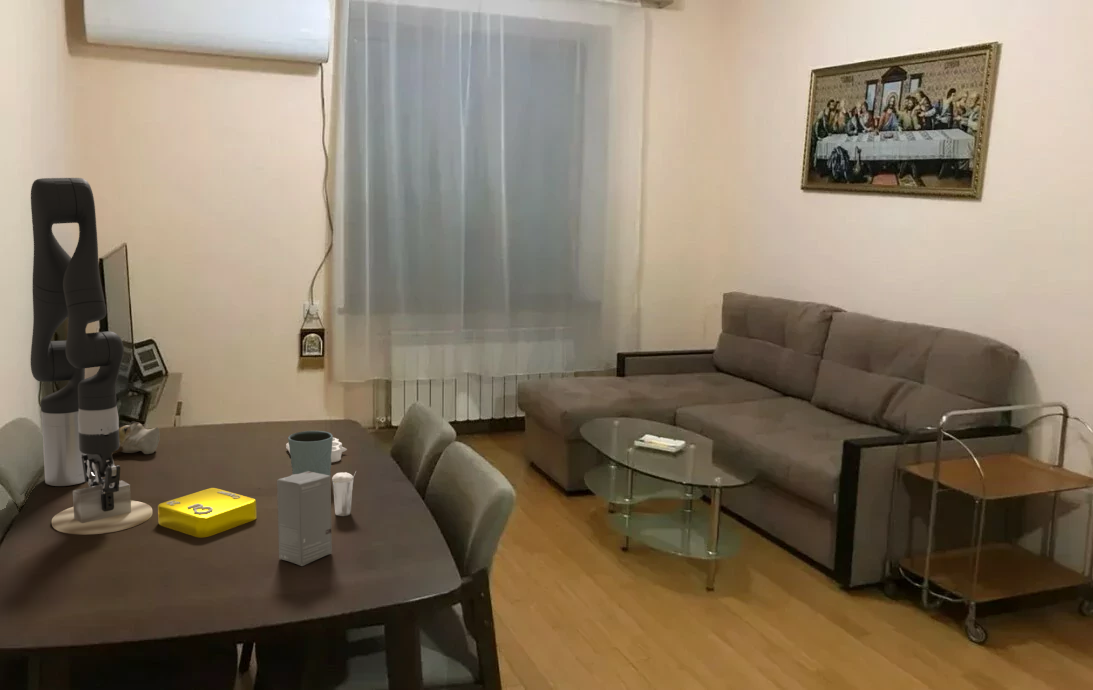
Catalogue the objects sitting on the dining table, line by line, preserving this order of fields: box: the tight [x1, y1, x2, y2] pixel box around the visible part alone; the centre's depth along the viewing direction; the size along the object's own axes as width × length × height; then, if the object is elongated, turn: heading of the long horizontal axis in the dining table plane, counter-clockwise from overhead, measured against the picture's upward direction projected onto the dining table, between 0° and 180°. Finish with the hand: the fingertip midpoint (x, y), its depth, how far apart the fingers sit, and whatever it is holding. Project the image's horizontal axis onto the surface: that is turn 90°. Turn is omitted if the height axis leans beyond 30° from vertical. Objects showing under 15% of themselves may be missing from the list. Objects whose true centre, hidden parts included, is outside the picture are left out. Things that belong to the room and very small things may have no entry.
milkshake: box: [331, 470, 357, 517], centre depth 195 cm, size 4×5×10 cm
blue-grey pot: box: [287, 430, 334, 477], centre depth 214 cm, size 10×10×12 cm
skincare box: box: [276, 471, 333, 567], centre depth 171 cm, size 8×7×16 cm
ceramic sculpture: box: [112, 420, 160, 455], centre depth 236 cm, size 11×9×15 cm
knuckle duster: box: [285, 437, 348, 463], centre depth 240 cm, size 3×18×15 cm
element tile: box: [157, 487, 258, 538], centre depth 189 cm, size 15×15×5 cm
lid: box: [51, 480, 153, 536], centre depth 189 cm, size 19×19×7 cm
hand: (102, 506), depth 189 cm, fingers open, 5 cm apart
